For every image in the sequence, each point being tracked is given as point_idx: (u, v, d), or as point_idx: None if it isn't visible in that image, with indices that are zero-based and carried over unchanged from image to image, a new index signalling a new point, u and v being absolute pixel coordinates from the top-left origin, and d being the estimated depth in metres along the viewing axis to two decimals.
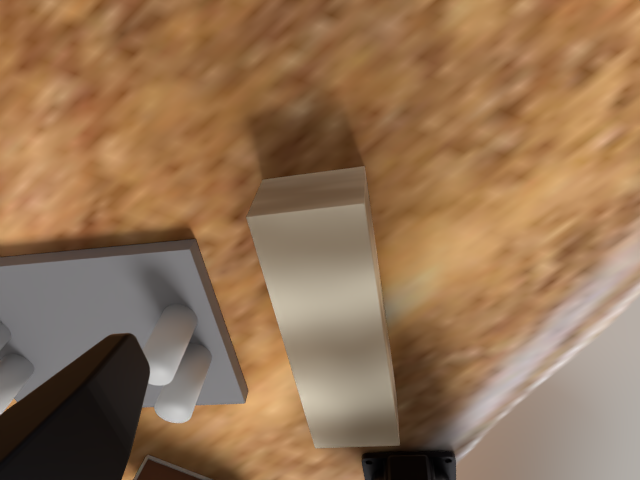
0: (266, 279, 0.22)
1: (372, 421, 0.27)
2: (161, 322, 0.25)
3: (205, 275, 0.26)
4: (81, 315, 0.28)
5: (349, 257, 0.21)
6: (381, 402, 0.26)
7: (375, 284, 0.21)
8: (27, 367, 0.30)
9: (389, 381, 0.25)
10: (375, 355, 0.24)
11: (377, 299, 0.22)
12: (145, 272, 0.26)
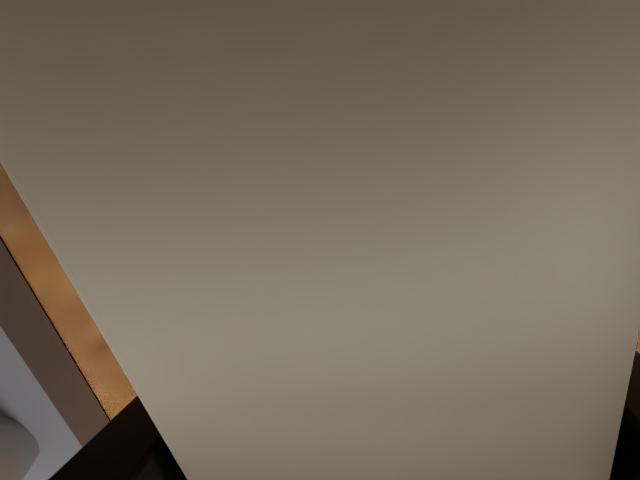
0: (20, 182, 0.04)
1: None
2: None
3: None
4: None
5: None
6: None
7: None
8: None
9: None
10: None
11: None
12: None
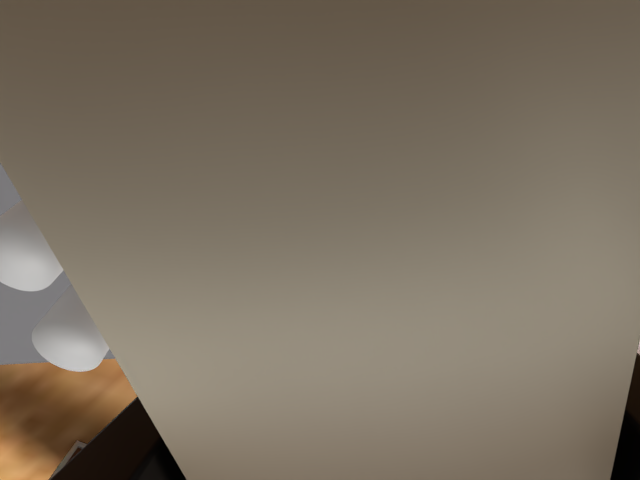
0: (19, 179, 0.04)
1: None
2: None
3: None
4: None
5: None
6: None
7: None
8: None
9: None
10: None
11: None
12: None
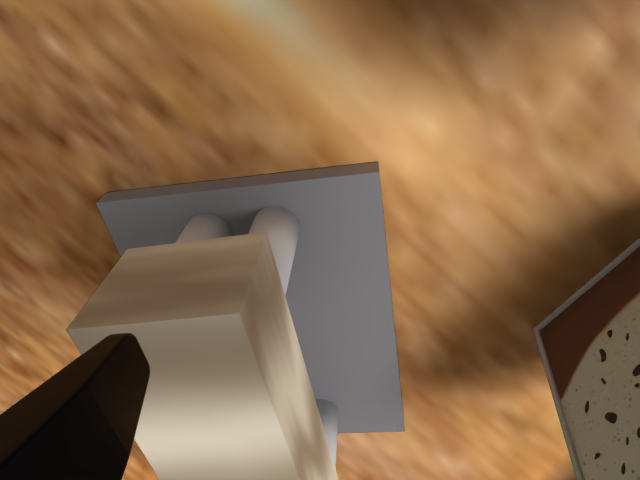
0: None
1: None
2: None
3: (149, 190, 0.20)
4: None
5: (231, 383, 0.14)
6: None
7: (276, 417, 0.14)
8: None
9: None
10: None
11: (282, 435, 0.15)
12: None
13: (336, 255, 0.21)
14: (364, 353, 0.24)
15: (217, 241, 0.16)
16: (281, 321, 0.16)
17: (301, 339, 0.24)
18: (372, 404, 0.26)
